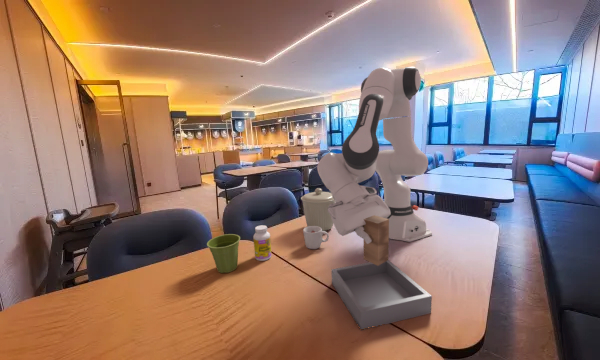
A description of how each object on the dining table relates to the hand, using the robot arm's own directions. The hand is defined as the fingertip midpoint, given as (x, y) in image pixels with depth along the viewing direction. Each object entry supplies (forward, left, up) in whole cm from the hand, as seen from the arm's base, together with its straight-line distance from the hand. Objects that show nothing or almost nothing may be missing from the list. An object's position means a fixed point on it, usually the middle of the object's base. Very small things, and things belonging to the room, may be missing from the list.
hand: (378, 239), depth 67 cm
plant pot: (+44, -32, -18) cm, 57 cm away
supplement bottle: (+30, -36, -18) cm, 50 cm away
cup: (+7, -38, -18) cm, 43 cm away
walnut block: (0, -1, -6) cm, 6 cm away
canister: (-1, -58, -18) cm, 60 cm away
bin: (0, -1, -18) cm, 18 cm away
